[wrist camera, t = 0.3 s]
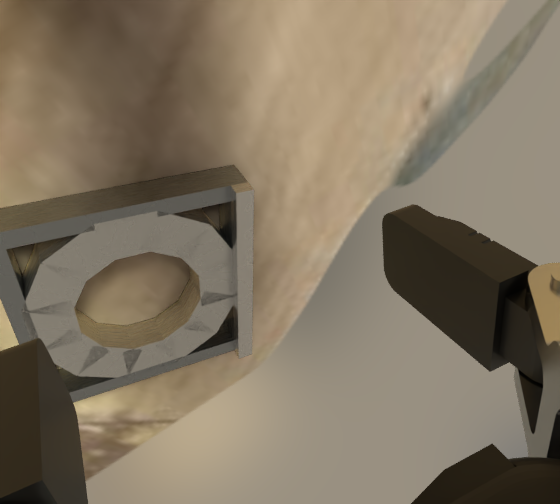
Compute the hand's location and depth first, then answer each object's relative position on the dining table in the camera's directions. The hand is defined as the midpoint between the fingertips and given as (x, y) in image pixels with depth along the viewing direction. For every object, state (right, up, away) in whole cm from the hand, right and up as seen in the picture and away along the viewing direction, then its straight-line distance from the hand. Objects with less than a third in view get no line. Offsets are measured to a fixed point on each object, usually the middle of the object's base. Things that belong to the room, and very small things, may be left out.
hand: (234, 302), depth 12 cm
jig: (-10, -1, +26) cm, 28 cm away
